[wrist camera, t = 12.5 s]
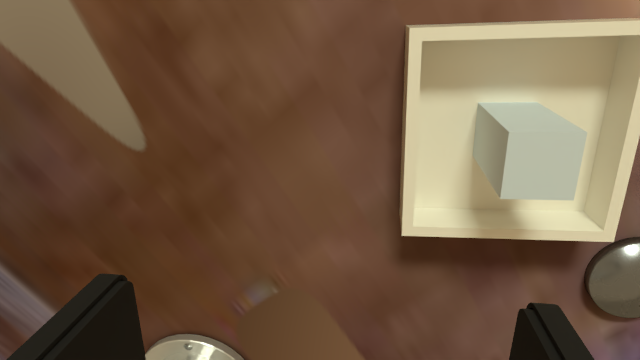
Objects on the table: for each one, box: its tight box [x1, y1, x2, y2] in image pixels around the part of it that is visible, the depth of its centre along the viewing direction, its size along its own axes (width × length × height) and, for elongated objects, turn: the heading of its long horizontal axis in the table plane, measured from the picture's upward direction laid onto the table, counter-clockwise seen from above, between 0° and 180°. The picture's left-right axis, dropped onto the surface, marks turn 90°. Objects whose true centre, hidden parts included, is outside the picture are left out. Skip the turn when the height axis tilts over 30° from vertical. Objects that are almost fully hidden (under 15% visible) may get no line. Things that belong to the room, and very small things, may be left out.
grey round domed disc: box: [584, 237, 640, 318], centre depth 35 cm, size 7×7×1 cm
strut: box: [473, 102, 587, 200], centre depth 28 cm, size 4×4×8 cm
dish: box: [399, 18, 640, 242], centre depth 30 cm, size 15×15×4 cm
